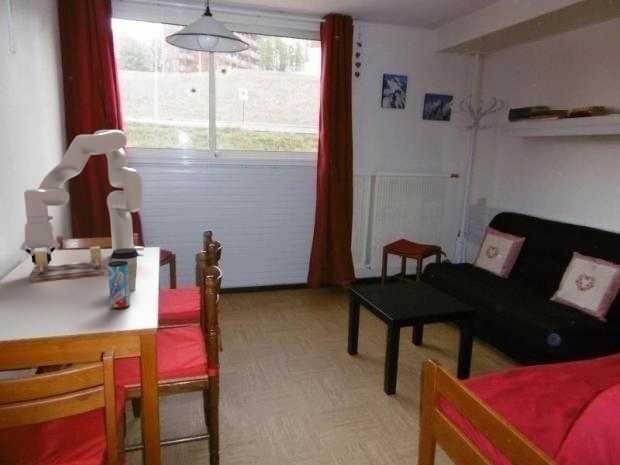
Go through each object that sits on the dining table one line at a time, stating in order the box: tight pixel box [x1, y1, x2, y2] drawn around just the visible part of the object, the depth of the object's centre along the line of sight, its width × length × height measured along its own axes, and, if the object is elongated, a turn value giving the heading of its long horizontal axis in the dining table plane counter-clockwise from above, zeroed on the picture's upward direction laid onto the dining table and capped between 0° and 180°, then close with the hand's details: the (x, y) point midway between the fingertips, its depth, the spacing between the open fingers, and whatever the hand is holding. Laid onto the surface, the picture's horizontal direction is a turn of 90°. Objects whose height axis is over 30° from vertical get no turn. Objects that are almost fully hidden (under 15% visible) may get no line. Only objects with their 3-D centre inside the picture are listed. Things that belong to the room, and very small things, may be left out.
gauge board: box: [29, 260, 105, 284], centre depth 182 cm, size 26×16×3 cm, turn 119°
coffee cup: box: [110, 248, 139, 293], centre depth 161 cm, size 9×9×15 cm
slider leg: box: [34, 249, 49, 273], centre depth 177 cm, size 4×10×7 cm, turn 29°
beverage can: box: [107, 261, 131, 310], centre depth 144 cm, size 6×6×15 cm
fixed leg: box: [89, 245, 102, 268], centre depth 187 cm, size 4×10×7 cm, turn 29°
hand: (42, 263), depth 180 cm, fingers closed on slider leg, 4 cm apart
